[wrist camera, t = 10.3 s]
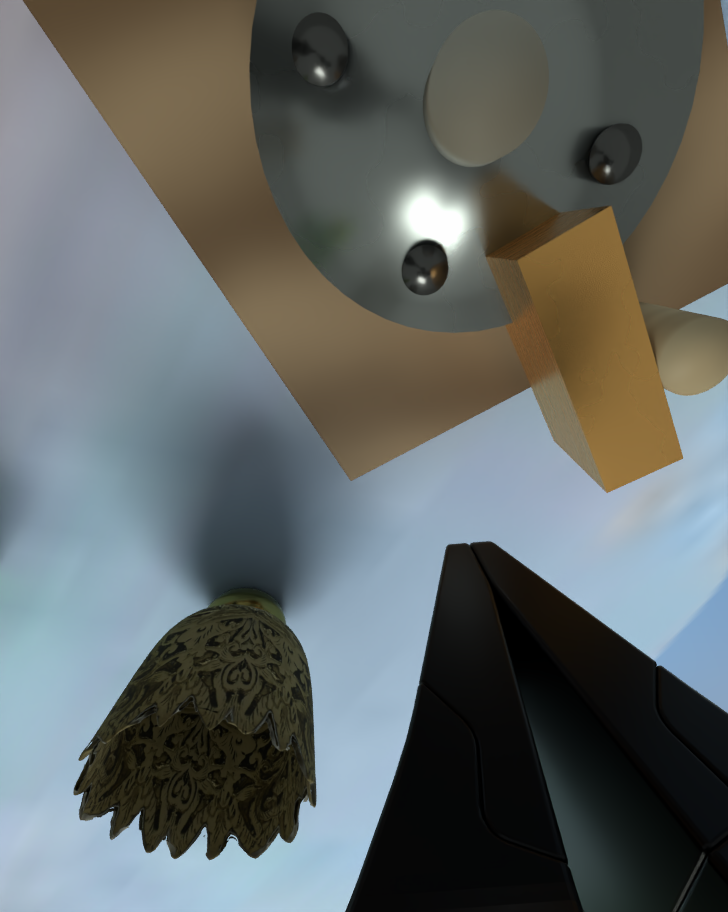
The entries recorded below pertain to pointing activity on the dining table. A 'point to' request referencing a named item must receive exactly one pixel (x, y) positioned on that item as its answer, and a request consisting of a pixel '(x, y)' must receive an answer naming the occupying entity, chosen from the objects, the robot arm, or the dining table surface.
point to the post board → (280, 257)
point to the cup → (210, 734)
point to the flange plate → (490, 192)
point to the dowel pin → (687, 348)
